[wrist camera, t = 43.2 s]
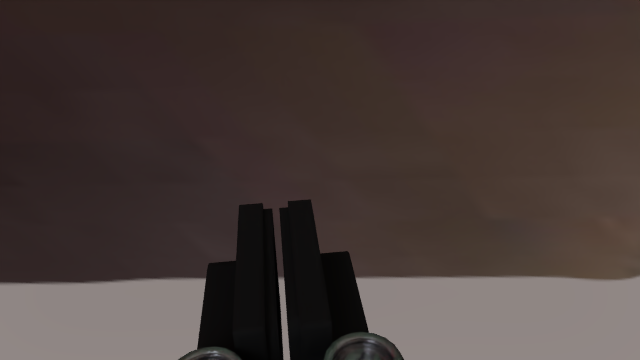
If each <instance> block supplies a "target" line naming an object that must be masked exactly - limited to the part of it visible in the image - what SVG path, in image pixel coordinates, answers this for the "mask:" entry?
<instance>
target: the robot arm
mask: <svg viewBox="0 0 640 360" xmlns="http://www.w3.org/2000/svg"><path fill="white" fill-rule="evenodd" d="M279 209H280V224H281V238H282V252H283V266H284V281H285V295H286V308H287V323H288V336H289V349H290V360H404V359H403V357H402V355H401V353H400V352H399V350H398V349H397V348H396V346H395V345H394V344H393V343H391V342H390V341H389V340H387V339H386V338H384V337H382V336H379V335H377V334H374V333H369V331H368V327H367V323H366V319H365V315H364V311H363V307H362V303H361V299H360V295H359V291H358V287H357V283H356V279H355V274H354V270H353V266H352V262H351V258H350V255H349V252H348V251H345V252H333V253H322V254H320V250H319V244H318V238H317V233H316V227H315V221H314V215H313V209H312V203H311V200H298V201H288V207H287V208H279ZM179 360H283V344H282V326H281V309H280V296H279V283H278V272H277V260H276V248H275V237H274V225H273V213H272V209H263V203H260V204H247V205H239V217H238V236H237V255H236V261H229V262H218V263H209V265H208V269H207V276H206V284H205V292H204V300H203V308H202V316H201V324H200V332H199V339H198V347H197V350H194V351H191V352H189V353H188V354H186V355H184V356H183V357H181V358H180V359H179Z"/></svg>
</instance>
